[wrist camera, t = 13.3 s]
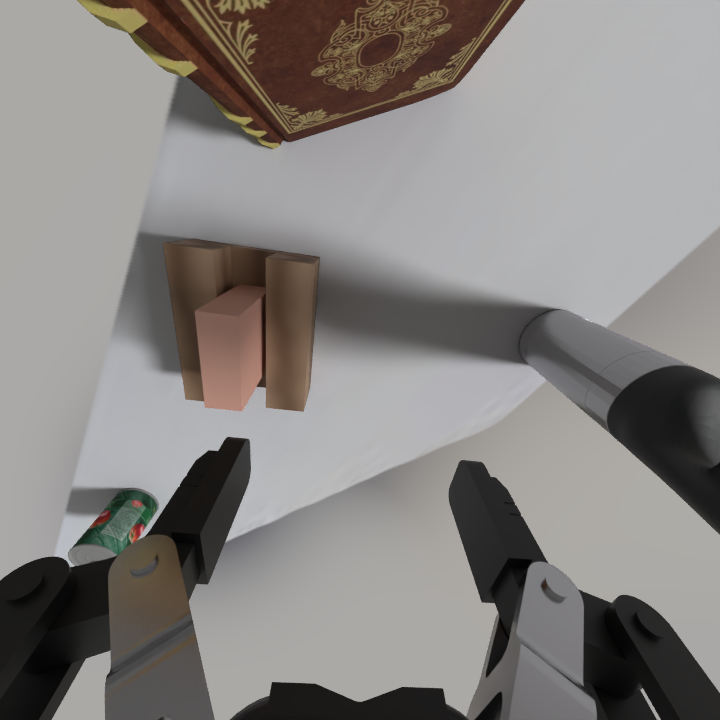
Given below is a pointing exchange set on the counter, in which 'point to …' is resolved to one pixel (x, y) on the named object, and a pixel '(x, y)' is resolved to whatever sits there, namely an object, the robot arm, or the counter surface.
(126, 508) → the canned tomato
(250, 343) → the pink rectangular block
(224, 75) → the decorative book
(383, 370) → the counter surface
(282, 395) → the book stand
